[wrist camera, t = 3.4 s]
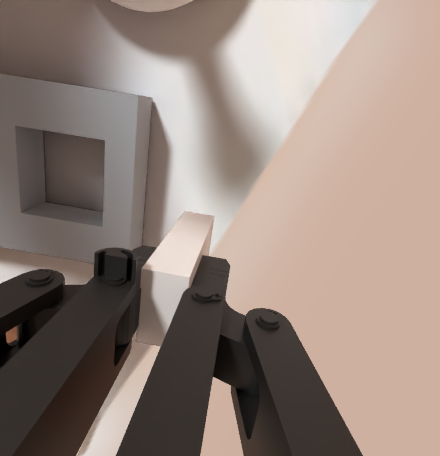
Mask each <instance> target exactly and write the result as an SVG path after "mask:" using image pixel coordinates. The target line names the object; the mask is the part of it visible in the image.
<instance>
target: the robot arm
mask: <svg viewBox="0 0 440 456" xmlns="http://www.w3.org/2000/svg"><path fill="white" fill-rule="evenodd" d="M213 222H214V216H210V215H204V214H199V213H193V212H187V211H184V213H183V214H182V215H181V217H180V218H179V219H178V221H177V222H176V223H175V225H174V226H173V227H172V229H171V230H170V231H169V233H168V234H167V235H166V237H165V238H164V239H163V241H162V242H161V243H160V245H159V246H158V247H157V248H155V247H149V246H144V245H142V246H140V247H137V248H135V249H133V250H132V251H131V250H128V249H125V248H116V247H114V248H105V249H101V250H98V251H96V252H95V254H94V277H93V278H92V279H91V280H90V281H89V282H88V283H87V284H86V285H65V278H64V276H63V274H61V273H59V272H58V271H53V270H49V269H45V270H44V269H38V270H34V271H29V272H26V273H23V274H21V275H19V276H16V277H14V278H12V279H10V280H7V281H5V282H3V283H1V284H0V456H76V454H77V452H78V450H79V448H80V446H81V444H82V443H83V441H84V439H85V437H86V435H87V433H88V431H89V429H90V427H91V425H92V424H93V422H94V420H95V418H96V416H97V414H98V412H99V410H100V408H101V406H102V405H103V403H104V401H105V399H106V397H107V395H108V393H109V391H110V389H111V387H112V386H113V384H114V382H115V380H116V378H117V376H118V374H119V372H120V370H121V368H122V367H123V365H124V363H125V361H126V359H127V357H128V355H129V353H130V350H131V343H132V337H133V335H134V333H135V331H136V329H137V334H136V342H141V343H146V344H151V345H156V346H161V348H160V350H159V352H158V355H157V357H156V360H155V362H154V365H153V367H152V369H151V372H150V374H149V377H148V379H147V382H146V384H145V386H144V389H143V391H142V394H141V396H140V399H139V401H138V403H137V406H136V408H135V411H134V413H133V416H132V418H131V420H130V423H129V425H128V428H127V430H126V433H125V435H124V437H123V440H122V442H121V445H120V447H119V450H118V452H117V454H116V456H200V453H201V446H202V441H203V434H204V428H205V422H206V416H207V409H208V402H209V397H210V391H211V385H212V378H213V377H215V378H217V379H219V380H221V381H223V382H225V383H227V384H229V385H231V394H232V400H233V404H234V410H235V415H236V419H237V424H238V429H239V434H240V439H241V444H242V449H243V454H244V456H363V455H362V453H361V452H360V450H359V448H358V446H357V444H356V442H355V440H354V439H353V437H352V435H351V433H350V431H349V429H348V428H347V426H346V424H345V422H344V420H343V418H342V417H341V415H340V413H339V411H338V409H337V407H336V406H335V404H334V402H333V400H332V398H331V397H330V395H329V393H328V391H327V389H326V387H325V386H324V384H323V382H322V380H321V378H320V376H319V375H318V373H317V371H316V369H315V367H314V366H313V364H312V362H311V360H310V358H309V356H308V354H307V353H306V351H305V349H304V347H303V346H302V343H301V342H300V340H299V338H298V336H297V334H296V332H295V331H294V329H293V327H292V325H291V323H290V322H289V321H288V320H287V318H286V317H285V316H283V315H282V314H280V313H279V312H276V311H273V310H271V309H265V308H258V309H253V310H250V311H249V312H248V313H247V314H246V316H245V315H243V314H240V313H238V312H236V311H234V310H233V309H232V308H230V307H229V306H228V304H227V303H226V301H225V296H226V289H227V283H228V277H229V270H230V265H229V263H228V262H227V260H226V259H221V258H216V257H210V256H208V255H209V248H210V242H211V235H212V228H213ZM14 327H16V329H17V339H16V340H14V341H12V342H10V343H7V341H6V332H8V331H9V330H11V329H13V328H14Z"/></svg>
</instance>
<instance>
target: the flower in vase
mask: <svg viewBox="0 0 440 456" xmlns="http://www.w3.org/2000/svg"><path fill="white" fill-rule="evenodd" d="M110 1H112V2H114V3H116V4H118V5H121V6H123V7H125V8H129V9H133V10H136V11H144V12H161V11H166V10H171V9H175V8H178V7H180V6H183V5H185V4H187V3H189V2H191V1H193V0H110Z"/></svg>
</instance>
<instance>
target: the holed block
mask: <svg viewBox="0 0 440 456" xmlns="http://www.w3.org/2000/svg"><path fill="white" fill-rule="evenodd" d="M151 109H152V98H150V97H145V96H139V95H133V94H127V93H120V92H114V91H108V90H101V89H95V88H89V87H83V86H76V85H70V84H64V83H57V82H51V81H45V80H39V79H32V78H26V77H20V76H14V75H7V74H1V73H0V247H3V248H9V249H14V250H20V251H25V252H31V253H37V254H42V255H48V256H54V257H59V258H65V259H70V260H76V261H82V262H87V263H93V264H94V254H95V252H96V251H98V250H101V249H105V248H114V247H116V248H125V249H128V250H131V251H132V250H133V249H135V248H137V247H140V246H142V235H143V221H144V207H145V193H146V179H147V165H148V151H149V137H150V123H151ZM43 130H45V131H51V132H57V133H63V134H69V135H75V136H81V137H87V138H93V139H99V140H105V158H104V196H103V212H100V211H94V210H88V209H82V208H76V207H70V206H65V205H59V204H53V203H47V202H46V194H45V167H44V140H43Z"/></svg>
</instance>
